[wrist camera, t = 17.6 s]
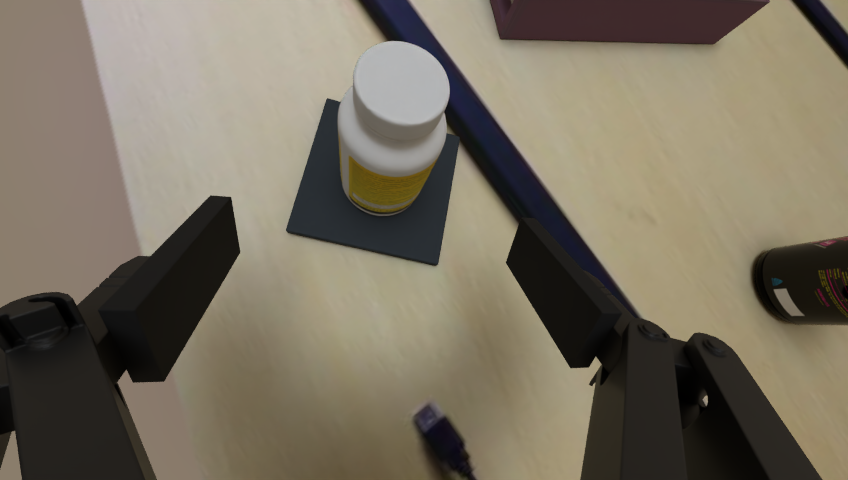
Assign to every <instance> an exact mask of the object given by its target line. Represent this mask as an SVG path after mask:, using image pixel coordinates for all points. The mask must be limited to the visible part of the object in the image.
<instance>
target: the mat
mask: <svg viewBox="0 0 848 480" xmlns="http://www.w3.org/2000/svg"><path fill="white" fill-rule="evenodd" d="M340 103H341V102H338V101H335V100H331V99H328V98H327V100H326V103H325V106H324V109H323V113H322V116H321V119H320V122H319V126H318V129H317V132H316V135H315V138H314V142H313V145H312V148H311V151H310V155H309V158H308V161H307V164H306V167H305V171H304V174H303V177H302V180H301V183H300V187H299V190H298V193H297V196H296V200H295V203H294V206H293V209H292V212H291V216H290V219H289V222H288V225H287V229H286V231H287V232H288V233H291V234H296V235H300V236H305V237H309V238H314V239H318V240H323V241H327V242H332V243H336V244H341V245H345V246H350V247H354V248H359V249H363V250H368V251H372V252H377V253H381V254H386V255H390V256H395V257H399V258H403V259H408V260H412V261H417V262H421V263H426V264H430V265H435V266H436V265H438V262H439V256H440V250H441V244H442V238H443V233H444V227H445V221H446V215H447V209H448V204H449V198H450V192H451V186H452V180H453V175H454V169H455V163H456V157H457V151H458V146H459V140H460V137H458V136H454V135H451V134H448V133H446V139H445V143H444V146H443V148H442V151H441V153H440V155H439V157H438V159H437V161H436V163H435V165H434V166H433V168H432V170H431V172H430V174H429V176H428V178H427V180H426V182H425V183H424V185H423V187H422V189H421V191H420V193H419V195H418V196H417V198H416V199H415V201H414V202H413V203H412V204H411V205H410V206H409V207H408V208H407V209H405V210H403V211H402V212H400V213H397V214H394V215H390V216H376V215H372V214H369V213H366V212H364V211H362V210H360V209H359V208H357V207H356V206H355V205H354V204H353V203H352V202H351V201H350V200H349V198H348V197H347V195H346V194H345V192H344V189H343V186H342V181H341V172H340V155H339V138H338V110H339V106H340Z"/></svg>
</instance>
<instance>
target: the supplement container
mask: <svg viewBox="0 0 848 480" xmlns="http://www.w3.org/2000/svg"><path fill="white" fill-rule="evenodd" d="M754 276H755V284H756V288H757V291H758V293H759V296H760V298H761V299H762V301H763V303H764V304H765V305H766V307H767V308H768V309H769V310H770V311H771V312H772V313H773V314H775V315H776V316H778V317H779V318H781V319H783V320H785V321H787V322H790V323H794V324H798V325H848V236H844V237H838V238H832V239H826V240H820V241H814V242H808V243H802V244H796V245H790V246H784V247H778V248H773V249H771V250H769V251H767V252H766V253H764V254H763V255H762V256H761V257H760V259H759V260H758V262H757V264H756V267H755V275H754Z"/></svg>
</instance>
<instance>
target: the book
mask: <svg viewBox="0 0 848 480" xmlns="http://www.w3.org/2000/svg"><path fill="white" fill-rule="evenodd" d="M490 1H491V5H492V8H493V12H494V16H495V20H496V23H497V27H498V31H499V35H500V38H501V39H541V40H580V41H620V42H660V43H700V44H715V43H716V42H717V41H719V40H720V39H721V38H723V37H724V36H725V35H727V34H728V33H729V32H731V31H732V30H733V29H735V28H736V27H737V26H739V25H740V24H741V23H743V22H744V21H745V20H747V19H748V18H749V17H750V16H752V15H753V14H754V13H756V12H757V11H758V10H760V9H761V8H762V7H764V6H765V5H766V4H768V3H769V2H770V1H769V0H490Z"/></svg>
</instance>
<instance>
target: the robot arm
mask: <svg viewBox="0 0 848 480" xmlns="http://www.w3.org/2000/svg"><path fill="white" fill-rule="evenodd" d="M239 253H240V248H239V242H238V236H237V230H236V224H235V218H234V212H233V206H232V200H231V197H223V196H210V197H209V198H208V199H207V200H206V201H205V202H204V203H203V204H202V205H201V206H200V207H199V208H198V209H197V210H196V211H195V212H194V213H193V214H192V215H191V216H190V217H189V218H188V219H187V220H186V221H185V222H184V223H183V224H182V225H181V226H180V227H179V228H178V229H177V230H176V231H175V232H174V233H173V234H172V235H171V236H170V237H169V238H168V239H167V240H166V241H165V242H164V243H163V244H162V245H161V246H160V247H159V248H158V249H157V250H156V251H155V252H154V253H153V254H152V255H151V256H137V257H135V258H134V259H131V260H130V261H128V262H126V263H124V264H122V265H120V266H119V267H118V268H117V269H116V270H115V271H114V272H113V273H112V274H111V275H110V276H109V278H106V279H105V280H104V281H103V282H102V283H101V284H100V286H99V287H97V288H96V289H94V290H93V291H92V292H91V293H90V294H89V295H88V296H87V297H86V298H85V299H84V300H83V301H81V302H80V303H79V304H78V305H77V306H76V304H75V302H74V300H73V298H71V297H70V296H69V295H68V294H64V293H60V292H50V293H41V294H36V295H31V296H27V297H24V298H21V299H18V300H16V301H13V302H10V303H9V304H7V305H5V306H3V307H1V308H0V468H1V465H2V461H3V458H4V454H5V451H6V448H7V445H8V442H9V438H10V435H11V432H12V431H15V432H16V440H17V446H18V454H19V461H20V468H21V475H22V480H157V479H156V476H155V474H154V472H153V469H152V467H151V464H150V461H149V459H148V456H147V454H146V451H145V449H144V447H143V444H142V442H141V439H140V436H139V434H138V432H137V429H136V427H135V424H134V422H133V419H132V417H131V414H130V412H129V409H128V407H127V404H126V402H125V399H124V397H123V394H122V392H121V389H120V387H119V385H118V383H117V382H118V380H119V379H120V377H121V376H122V374H123V373H124V372H125V370H126V369H127V371H128V373H129V375H130V378H131V379H132V381H133V382H162V381H163V382H164V381H165V379H166V377H167V376H168V374H169V372H170V370H171V369H172V367H173V365H174V364H175V362H176V360H177V359H178V357H179V355H180V354H181V352H182V350H183V348H184V347H185V345H186V343H187V342H188V340H189V338H190V337H191V335H192V333H193V331H194V330H195V328H196V326H197V325H198V323H199V321H200V320H201V318H202V316H203V315H204V313H205V311H206V309H207V308H208V306H209V304H210V303H211V301H212V299H213V298H214V296H215V294H216V292H217V291H218V289H219V287H220V286H221V284H222V282H223V281H224V279H225V277H226V276H227V274H228V272H229V270H230V269H231V267H232V265H233V264H234V262H235V260H236V259H237V257H238V255H239ZM506 264H507V265H508V267H509V269H510V270H511V272H512V274H513V275H514V277H515V278H516V280H517V282H518V283H519V285H520V287H521V288H522V290H523V291H524V293H525V295H526V296H527V298H528V300H529V301H530V303H531V304H532V306H533V308H534V309H535V311H536V313H537V314H538V316H539V318H540V319H541V321H542V322H543V324H544V326H545V327H546V329H547V331H548V332H549V334H550V335H551V337H552V339H553V340H554V342H555V344H556V345H557V347H558V348H559V350H560V352H561V353H562V355H563V357H564V358H565V360H566V361H567V363H568V365H569V366H570V368H586V367H589V366H590V364H591V363H592V361H593V360H594V358H595V356H596V357H597V358H598V360H599V361H600V362H601V364H602V365H601V366H600V368H599V369H598V371H597V372H596V374H595V375H594V377H593V378H592V380H591V382H590V383H589V385H591V386H592V385H593V384H594V383H595V382H596V384H595V390H594V397H593V403H592V409H591V416H590V422H589V428H588V435H587V441H586V447H585V454H584V460H583V466H582V473H581V479H580V480H822V479H821V477H820V476H819V474H818V473H817V471H816V470H815V468H814V467H813V465H812V464H811V462H810V461H809V459H808V458H807V457H806V455H805V454H804V452H803V451H802V449H801V448H800V446H799V445H798V443H797V442H796V440H795V439H794V437H793V436H792V435H791V433H790V432H789V430H788V429H787V427H786V426H785V424H784V423H783V421H782V420H781V418H780V417H779V415H778V414H777V412H776V411H775V410H774V408H773V407H772V405H771V404H770V402H769V401H768V399H767V398H766V396H765V395H764V393H763V392H762V390H761V389H760V388H759V386H758V385H757V383H756V382H755V380H754V379H753V377H752V376H751V374H750V373H749V371H748V370H747V368H746V367H745V365H744V364H743V363H742V361H741V360H740V358H739V357H738V355H737V354H736V353H735V352H734V351H733V349H732V348H730V347H729V346H728V345H727V344H725V342H723V341H721V340H719V339H718V338H716V337H713V336H710V335H708V334H704V333H694V334H693V335H692V337H691V338H690V339H689V340H688V341H687V342H685V341H681V340H677V339H673V338H670V336H669V335H668V334H667V333H666V332H665V331H664V330H663V329H662V328H660V327H659V326H658V325H656V324H654V323H652V322H650V321H647V320H644V319H640V318H634V317H633V316H632V315H631V314H630V313H629V311H628V310H627V309H626V308H625V307H624V306H623V305H622V304H621V303H620V302H619V301H618V300H617V299H616V298H615V297H614V296H612V294H611V293H610V292H609V290H608V289H605V286H604V285H603V284H602V283H601V282H600V281H599V280H598V279H597V278H596V277H594V276H593V275H591V274H590V273H588V272H587V271H583V270H582V269H581V268H580V266H579V265H578V264H577V263H576V262H575V261H574V260H573V259H572V258H571V257H570V256H569V255H568V253H567V252H566V251H565V250H564V249H563V248H562V247H561V246H560V245H559V244H558V243H557V242H556V240H555V239H554V238H553V237H552V236H551V235H550V234H549V233H548V232H547V231H546V230H545V229H544V227H543V226H542V225H541V224H540V223H539V222H538V221H537V220H536V219H534V218H521V220H520V223H519V226H518V229H517V232H516V235H515V237H514V240H513V243H512V246H511V249H510V252H509V255H508V258H507V261H506ZM706 395H707V396H708V404H707V407H706V406H705V404H704V402H703V400H702V399H703V398H704V397H705V396H706Z"/></svg>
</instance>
